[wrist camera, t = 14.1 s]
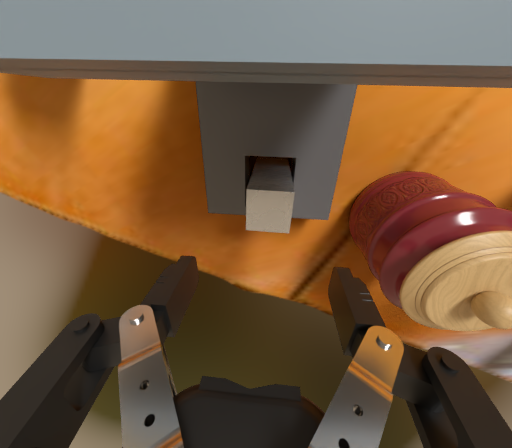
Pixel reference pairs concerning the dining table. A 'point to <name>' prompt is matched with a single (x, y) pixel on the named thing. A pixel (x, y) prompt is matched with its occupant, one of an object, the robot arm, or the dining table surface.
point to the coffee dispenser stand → (262, 41)
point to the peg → (270, 196)
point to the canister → (437, 251)
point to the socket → (273, 139)
